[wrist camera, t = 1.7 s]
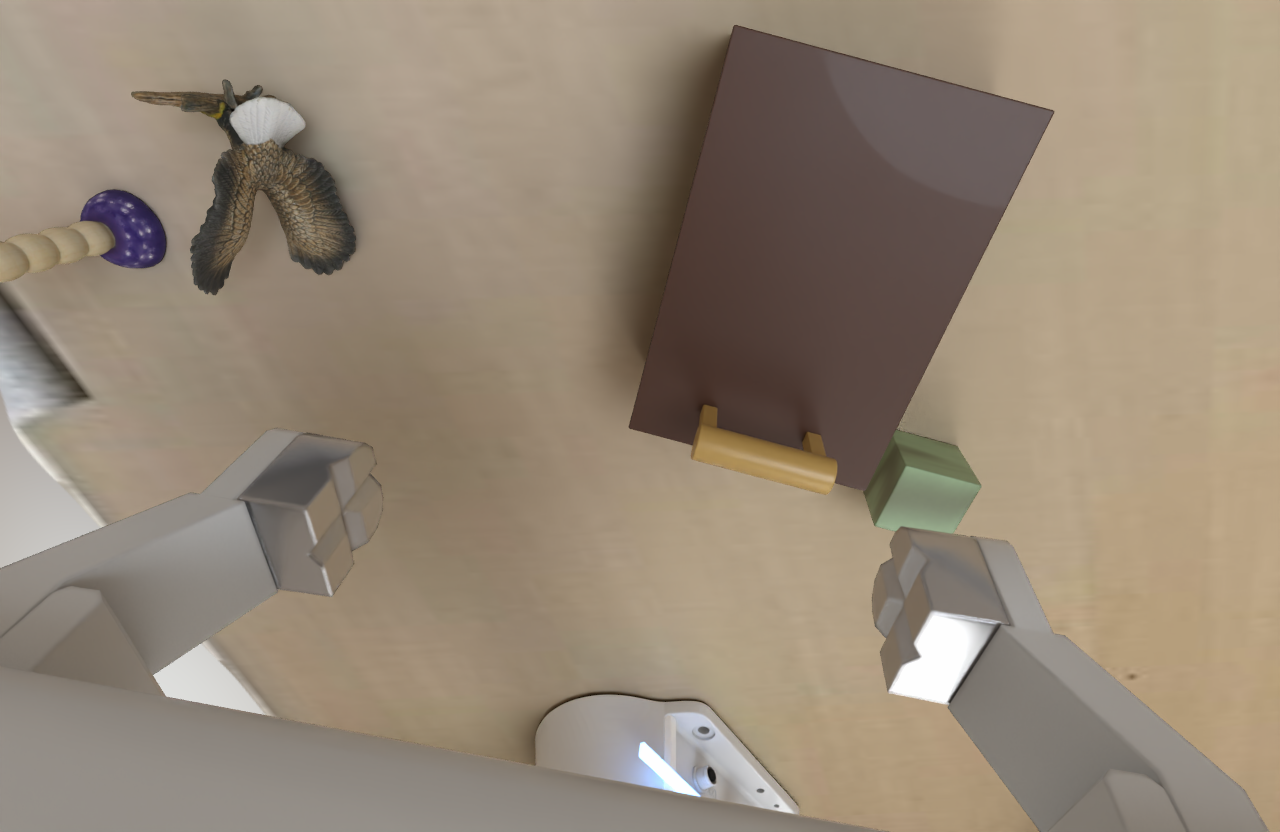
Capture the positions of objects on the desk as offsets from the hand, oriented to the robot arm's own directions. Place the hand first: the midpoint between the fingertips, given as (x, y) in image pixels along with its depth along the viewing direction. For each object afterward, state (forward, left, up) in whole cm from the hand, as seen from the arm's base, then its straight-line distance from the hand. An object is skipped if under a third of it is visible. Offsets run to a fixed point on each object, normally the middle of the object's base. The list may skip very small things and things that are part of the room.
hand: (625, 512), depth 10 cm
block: (-19, +1, -25) cm, 31 cm away
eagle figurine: (+16, +14, -25) cm, 33 cm away
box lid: (-5, -2, -20) cm, 20 cm away
